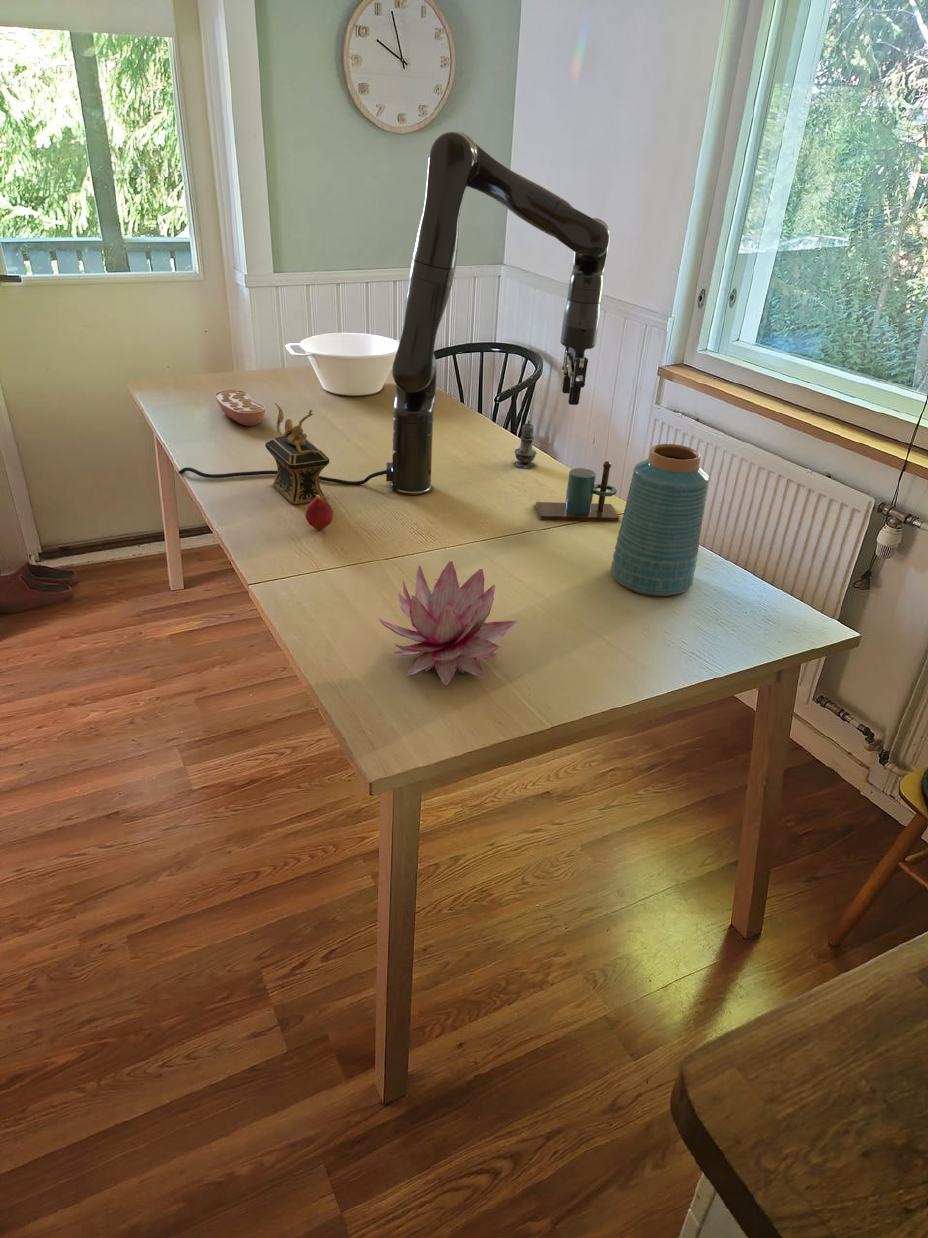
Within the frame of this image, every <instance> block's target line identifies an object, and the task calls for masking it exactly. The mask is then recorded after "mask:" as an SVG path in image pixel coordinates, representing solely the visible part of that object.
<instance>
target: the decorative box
mask: <svg viewBox="0 0 928 1238" xmlns="http://www.w3.org/2000/svg"><path fill="white" fill-rule="evenodd" d="M274 404H275V406H276V407H277V409H278V415H277V419H276V424H275V425H276V431H277V433H278V434H277V435H279V436H275V437H272V438H271V439H269V440H268V441H266V442H265V444H264V447H265V449H266V450H267V451H268V452H269V454H270V455H271V456H272V457H273V458H274V461H275V463H276V469H277V470H276V471H277V474H276V476H275V478H274V481H273V483H272V486H273V488H275V489H276V490H277V492H279V493H280V494H281V495H282V496H283V497H284V498H285V499H286V500H287V501H288V502H290V503H291V504H294V505H299V504H306V503H310V502H311V501H313V500H314V499H315V498H316V495H319V496H320V497H321V498H322V499H324V500H325V498H326V496H325V494H324V492H323V490H322V488H321V486H320V480H319V476H320V475H321V472H322V471H323V470H324V469H325V468H326V467H327V466H328V465H329V464H330V458H329V457H328V455H326V454H325V453H324V452H323V451H322V450H321V449H320V448H319V447H318V446H316V445H315V444H314V443H312V442H311V441H310V440H309V439H307V438H308V436H307V434H306V433H304V429H303V428H302V425H303V423H304V422H305V421H306V420H307V419H308V418H310V417H312V416H314V413H313V409H309V411H308V415H306V416H303V417H302V418H301V419H300V420H299V422H298V423H297V425H294V426H293V420H292V419H291V418H287V419H286V420H285V422H284V416H285V415H284V412H283V409H282V408H281V406H280V405H278V403H276V402H274ZM282 422H284V433H282V432H281V423H282Z"/></svg>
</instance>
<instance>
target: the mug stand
mask: <svg viewBox="0 0 928 1238" xmlns="http://www.w3.org/2000/svg"><path fill="white" fill-rule="evenodd" d="M602 467H603V469H602V476H601V483H600V484H601V488H599V489H600V490H599V491H601V492H607V490H608V489H607V485H608V483H609V482H608V481H609V476H610V470H611V468H612V463H611V462H610V461H608V460H606V461H604V462H603V463H602ZM535 508H536V512H537V514H538V517H539V518H540V521H568V522H569V521H571V522H572V521H575V522H613V523H614V522H615V523H618V522H619V520H620V517H619V514H618V513H617V512H616V510H615V508H614V507H613V504H612V503H606V496H599V495H598V502H597V503H594V502H592V505H591V511H590V513H588V514H585V515H576V514H572V513H569V512H567V511H566V510H565V502H552V501H551V502H550V501H536V502H535Z"/></svg>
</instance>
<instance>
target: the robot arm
mask: <svg viewBox="0 0 928 1238" xmlns="http://www.w3.org/2000/svg"><path fill="white" fill-rule="evenodd" d="M427 161H428V162H427V175H426V185H425V187H426V188H425V198H424V205H423V211H422V215H421V218H420V222H419V226H418V230H417V235H416V239H415V244H414V248H413V253H412V256H411V257H412V258H411V262H410V263H411V264H410V268H409V275H408V280H407V281H408V282H407V289H406V291H407V292H406V298H405V308H404V318H403V326H402V329H401V330H402V331H401V333H400V334H401V335H400V338H399V340H400V342H399V346H398V349H397V352H396V356H395V359H394V362H393V365H392V368H391V375H392V378H393V381H394V383H395V395H394V403H393V409H392V459H391V460H392V462H388V461H387V462H386V467H385V468H386V469H384V470H381V471H377V472H374V473H371V474H369V475H367V476H366V477H365V478H364V479H362V480H358V481H357V480H356V481H355V480H353V481H352V480H345V479H339V478H333V477H328V476H322V475H319V481H324V482H329V483H334V484H335V483H336V484H341V485H347V486H360V485H364V484H366V483H368V482H369V481H370V480H371V479H373V478H376V477H380V476H383V475H385V476H386V478H385V481H386V482H391V492H393V493H400V494H403V495H408V496H409V495H410V496H411V495H413V496H415V495H422V494H426V493H428V492H430V491H431V489H432V460H433V459H432V457H433V436H434V435H433V432H434V413H435V412H434V411H435V405H436V391H437V373H438V368H437V367H438V365H437V364H438V363H437V360H436V356H435V354H434V353H435V346H436V338H437V334H438V330H439V327H440V323H441V321H442V320H443V319H442V318H443V315H444V313H445V311H446V306H447V304H448V302H449V298H450V294H451V291H452V286H453V283H454V278H455V274H456V267H457V262H458V261H457V260H458V253H459V251H458V250H459V224H460V223H459V222H460V214H461V209H462V205H463V201H464V197H465V194H466V190H467V187H468V188H470V189H473V190H476V191H478V192H480V193H482V194H484V195H486V196H488V197H490V198H491V199H493V200H494V201H496V202H497V203H499V204H500V205H502V206H503V207H504V208H506V209H507V210H509V211H510V212H511V213H513V215H515V216H517V217H518V218H519V219H521V220H523V221H524V222H526V223H527V224H529V225H531V226H532V227H534V228H536V229H538V231H541V232H543V233H545V234H546V235H549V236H550V237H553V238H555V239H556V240H557V241H559V242H560V243H562V244H563V245H564V246H566V248H568V249H570V250H572V252H574V254H573V263H572V264H573V265H572V270H571V274H570V278H569V284H568V288H567V289H568V290H567V297H566V303H565V307H564V311H563V318H562V319H563V320H562V327H561V334H560V344H561V345H562V346H564V355H563V361H562V366H561V369H562V374H563V379H562V388H561V392H562V393H563V394H568V401H567V403H568V404H569V405H570V406H578V405H579V404H580V397H581V390H582V389H583V388H585V386H586V379H587V378H586V377H587V370H588V363H589V359H588V358H587V356H586V355H585V354H586V352H585V351H586V350H592V349H594V348H595V347H596V343H597V337H598V331H599V324H600V318H601V301H602V298H603V288H604V279H605V277H604V276H605V275H604V274H605V268H606V262H607V257H608V252H609V246H610V243H611V230H610V227H609V225H608V224H607V223H606V222H605V221H604V220H603V219H601V218H599V217H598V218H597V217H591V216H590V215H588V214H586V213H584V212H582V211H580V210H578V209H577V208H574V206H573V205H571V203H570V202H568V200H566V199H565V198H562V197H561V196H559V195H558V194H556V193H554V192H552V191H551V190H550V189H547V188H546V187H543V186H541V185H540V184H538V183H536V182H534V181H533V180H530V179H529V178H526V177H524V176H523V175H521V174H519V173H517V172H515V171H514V170H512V169H510V168H508V167H507V166H505V165H503V163H501V162H499V161H498V160H497V159H495V158H494V157H493V156H491V155H490V154H489V153H487V152H486V151H485V150H484V149H483V148H482V147H481V146H480V145H479V144H477V143H476V142H475V141H474V140H473V138H471V136H469V135H468V134H466V133H464V132H460V131H446V132H443V133H442V134H440V135H439V136H438V137H436V139H435V140H434V142H433V143H432V144H431V147H430V149H429V153H428V159H427ZM577 379H579V380H577ZM277 471H278V470H253V471H251V470H250V471H237V472H228V473H207V472H206V473H205V472H202V471H200V470H198V469H196V468H193V467H190V466H189V467H188V466H187V467H186V466H185V467H183V468H181V469H180V470H179V471H178V472H177V473H178V474H179V475H181V474H185V472H190V473H194V474H195V475H198V476H200V477H203V478H205V479H223V478H234V477H247V476H260V475H277Z"/></svg>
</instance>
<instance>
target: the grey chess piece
mask: <svg viewBox="0 0 928 1238" xmlns="http://www.w3.org/2000/svg"><path fill="white" fill-rule="evenodd" d="M534 428H535V427H534V425H533V424H532V423H530V420H529V419H528V420H527V421H526V423H524V424H523V425H522V427H521V435H520V436H519V439H520V445H519V447H518V448H515V449H514V455H515V459H516V460H517V461H515V462H514V463H513V464H514V466H515V467H516V468H519V469H525V470H526V469H533V468H534V467H535V464H534V463H533V461H534V460H535V458H536V455H537V454H538V452H537V451H536V450H535V449H533V441H534V439H535V437H534Z"/></svg>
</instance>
